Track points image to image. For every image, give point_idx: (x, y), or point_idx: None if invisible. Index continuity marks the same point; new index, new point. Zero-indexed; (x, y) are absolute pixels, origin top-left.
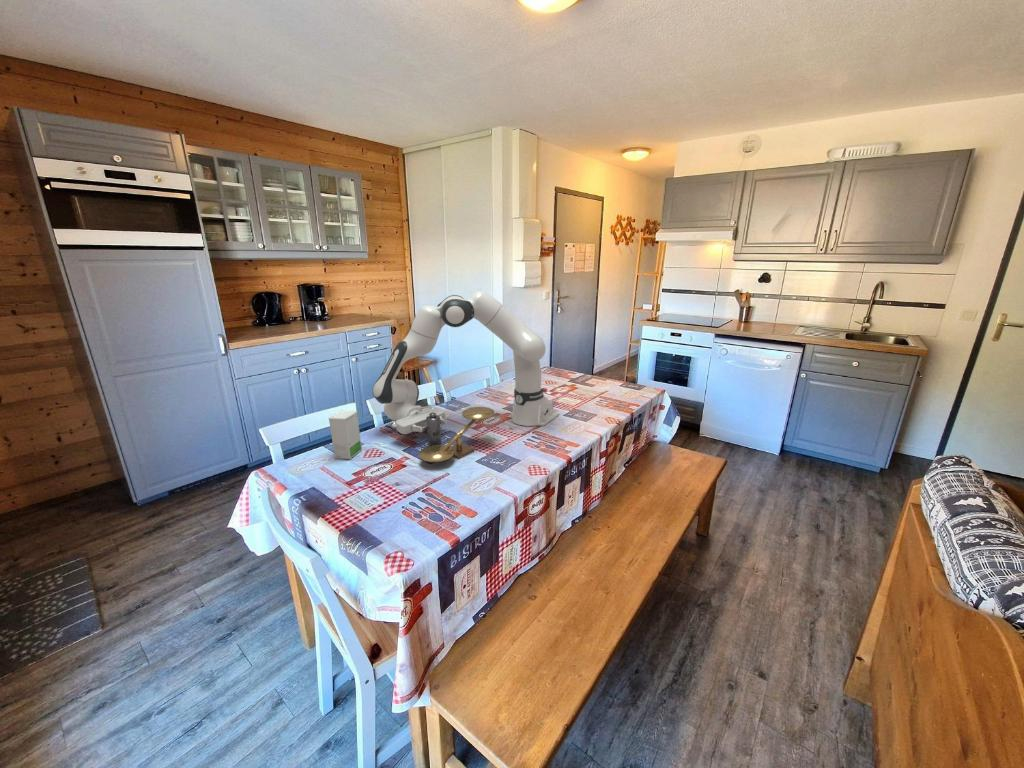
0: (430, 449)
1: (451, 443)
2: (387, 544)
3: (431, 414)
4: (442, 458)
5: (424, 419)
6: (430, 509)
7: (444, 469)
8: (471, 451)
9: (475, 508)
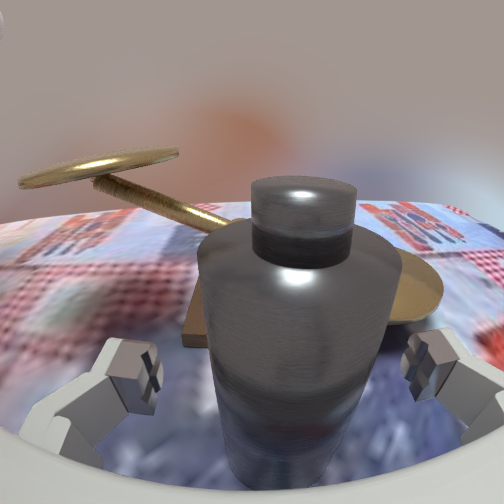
0: None
1: None
2: (471, 220)
3: (332, 184)
4: None
5: (350, 484)
6: (422, 225)
7: None
8: None
9: (357, 207)
